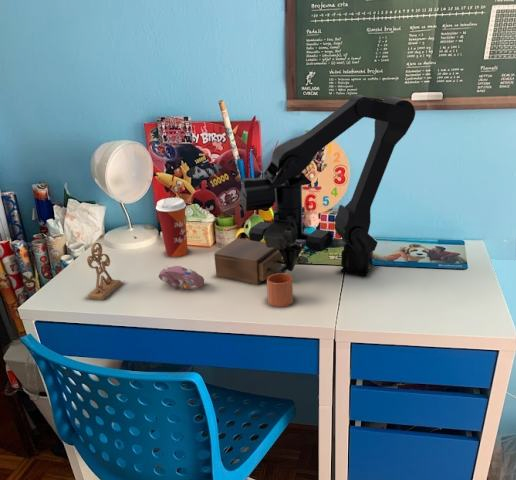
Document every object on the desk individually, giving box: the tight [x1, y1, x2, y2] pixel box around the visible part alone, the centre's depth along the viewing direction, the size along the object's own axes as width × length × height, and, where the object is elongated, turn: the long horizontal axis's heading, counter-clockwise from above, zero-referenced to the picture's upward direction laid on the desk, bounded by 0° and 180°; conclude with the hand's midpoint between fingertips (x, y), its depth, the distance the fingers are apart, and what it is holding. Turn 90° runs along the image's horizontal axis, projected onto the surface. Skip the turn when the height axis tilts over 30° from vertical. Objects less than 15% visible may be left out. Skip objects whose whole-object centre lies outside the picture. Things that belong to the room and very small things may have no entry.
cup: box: [266, 272, 294, 308], centre depth 128 cm, size 6×6×6 cm
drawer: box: [258, 249, 288, 282], centre depth 141 cm, size 15×9×4 cm, turn 61°
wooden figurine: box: [86, 242, 122, 301], centre depth 136 cm, size 9×4×12 cm, turn 163°
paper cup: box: [155, 197, 188, 258], centre depth 153 cm, size 8×8×14 cm
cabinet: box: [213, 237, 277, 285], centre depth 142 cm, size 12×11×6 cm
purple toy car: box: [158, 265, 205, 290], centre depth 137 cm, size 10×5×7 cm, turn 70°
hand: (290, 270), depth 137 cm, fingers closed
